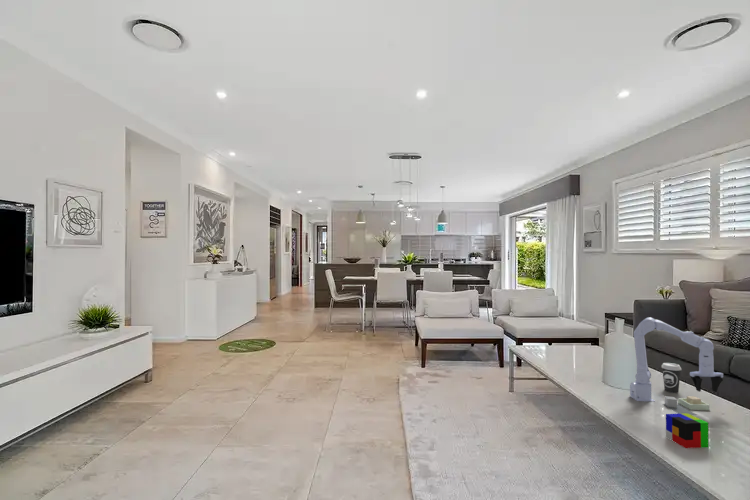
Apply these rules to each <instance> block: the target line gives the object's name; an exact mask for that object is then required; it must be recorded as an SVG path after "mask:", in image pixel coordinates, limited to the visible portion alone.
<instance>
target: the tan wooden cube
mask: <svg viewBox="0 0 750 500" xmlns="http://www.w3.org/2000/svg"><path fill="white" fill-rule="evenodd" d="M686 398H687V402H688V403H689V404H701V401H702V399H701V398H700V397H698V396H691V395H690V396H689V395H688V396H686Z"/></svg>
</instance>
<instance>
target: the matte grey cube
mask: <svg viewBox="0 0 750 500" xmlns="http://www.w3.org/2000/svg"><path fill="white" fill-rule="evenodd" d="M664 404H665V405H666V406H667V407H666V406H665V407H666V408H668V407H676V408H677V405H678V398H676V397H674V396H668V395H667V396H666V395H664Z"/></svg>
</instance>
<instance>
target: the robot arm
mask: <svg viewBox="0 0 750 500" xmlns="http://www.w3.org/2000/svg"><path fill="white" fill-rule="evenodd" d="M655 329H656V331H665V332H667V333H669V334H671V335H674V336H677V337H679V338H680V340H681V341H682V342H683V343H686V344H687V345H690V346H692V347H694V348H698V350H699V354H698V371H697V370H695V371H690V372H689V376H690V378H691V379H692V382H693V384H694V387H695V389H696V391H697V392H701V391H702V382H703V378H710V381H711V390H712V391H713V392H715V393H717V392H718V389H719V387H720V385H721V383H722V382H723V378H724V373H723V372H718V371H717V372H715V370H714V367H715V366H714V364H715V363H714V361H715V360H714V359H715V358H714V350H715V347H714V343H713V342H712V341H711V340H710V339H709V338H705V337H704V336H699V335H697V334H695V333H694V331H688V330H687V331H684V330H680V329H679V328H676V327H674V326H672V325H670V324H669V323H666V322H664V321H662V320H660V319H656V318H654V317H651V316H650V317H649V316H648V317H646V318H643V320H641V321H640V322H639V323H638V325H637V327H636V328H634V331H633V339H634V348H635V357H636V374H635V381H634V382H631V383H630V384H629V397H630V398H632V399H633V400H635V401H637V402H656V400H655V399H653V398H652V381H650V379H651V378H652V373H651V371H650V370H649V365H648V359H647V351H646V349H647V348H646V341H645V335H647V334H648V333H650V332H653V331H654V330H655ZM701 377H703V378H701Z"/></svg>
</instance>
